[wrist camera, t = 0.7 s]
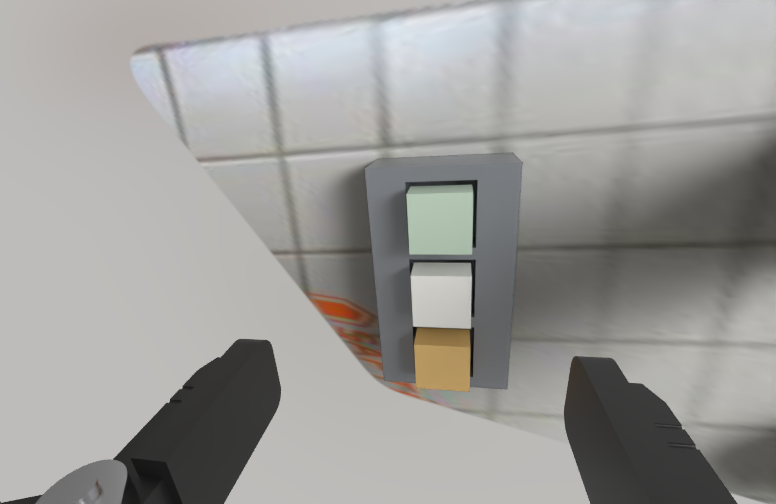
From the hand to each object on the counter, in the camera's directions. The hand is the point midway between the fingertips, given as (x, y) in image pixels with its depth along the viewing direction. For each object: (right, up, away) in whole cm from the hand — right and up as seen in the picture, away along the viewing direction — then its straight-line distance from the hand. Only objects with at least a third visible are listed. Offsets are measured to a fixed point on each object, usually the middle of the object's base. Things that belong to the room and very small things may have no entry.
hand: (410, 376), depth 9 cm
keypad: (+4, +2, +19) cm, 19 cm away
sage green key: (+3, +5, +13) cm, 15 cm away
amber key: (+3, -4, +17) cm, 18 cm away
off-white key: (+3, +1, +15) cm, 15 cm away
